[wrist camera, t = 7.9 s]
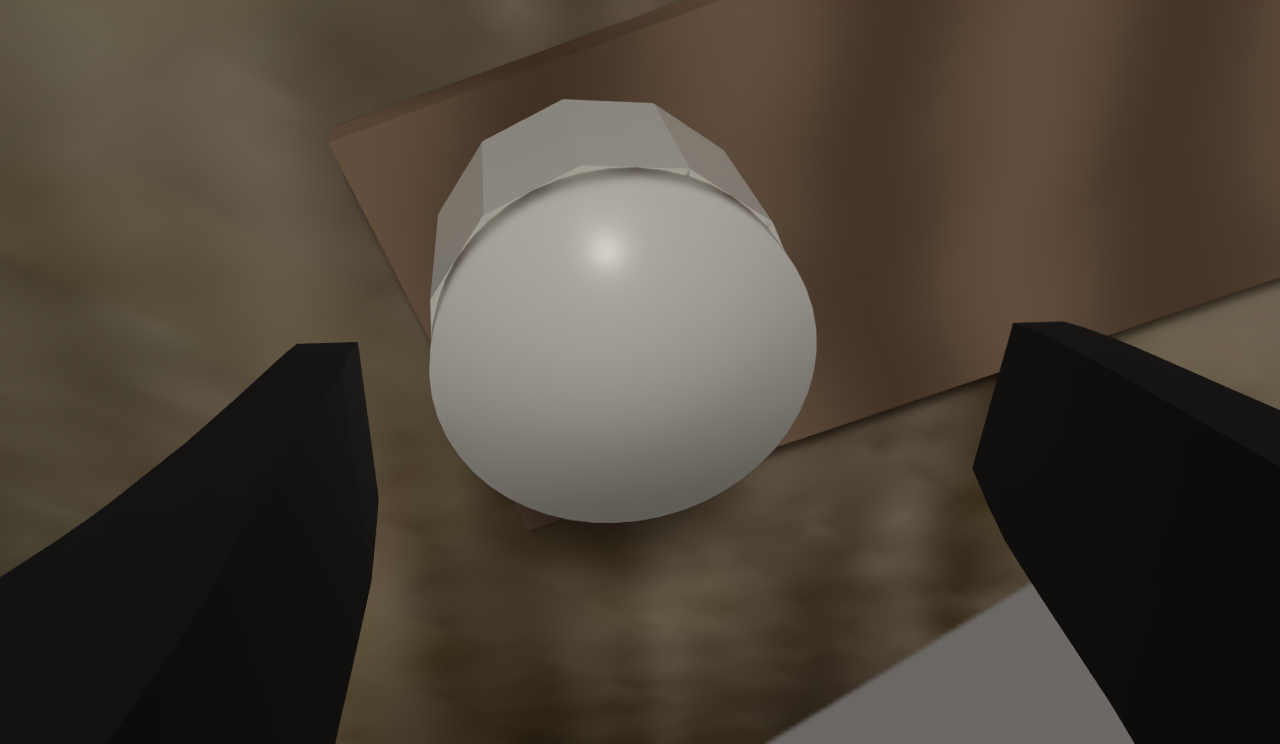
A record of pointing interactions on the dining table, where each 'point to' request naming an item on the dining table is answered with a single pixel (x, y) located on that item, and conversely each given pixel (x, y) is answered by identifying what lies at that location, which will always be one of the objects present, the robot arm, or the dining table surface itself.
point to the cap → (613, 316)
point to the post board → (915, 164)
